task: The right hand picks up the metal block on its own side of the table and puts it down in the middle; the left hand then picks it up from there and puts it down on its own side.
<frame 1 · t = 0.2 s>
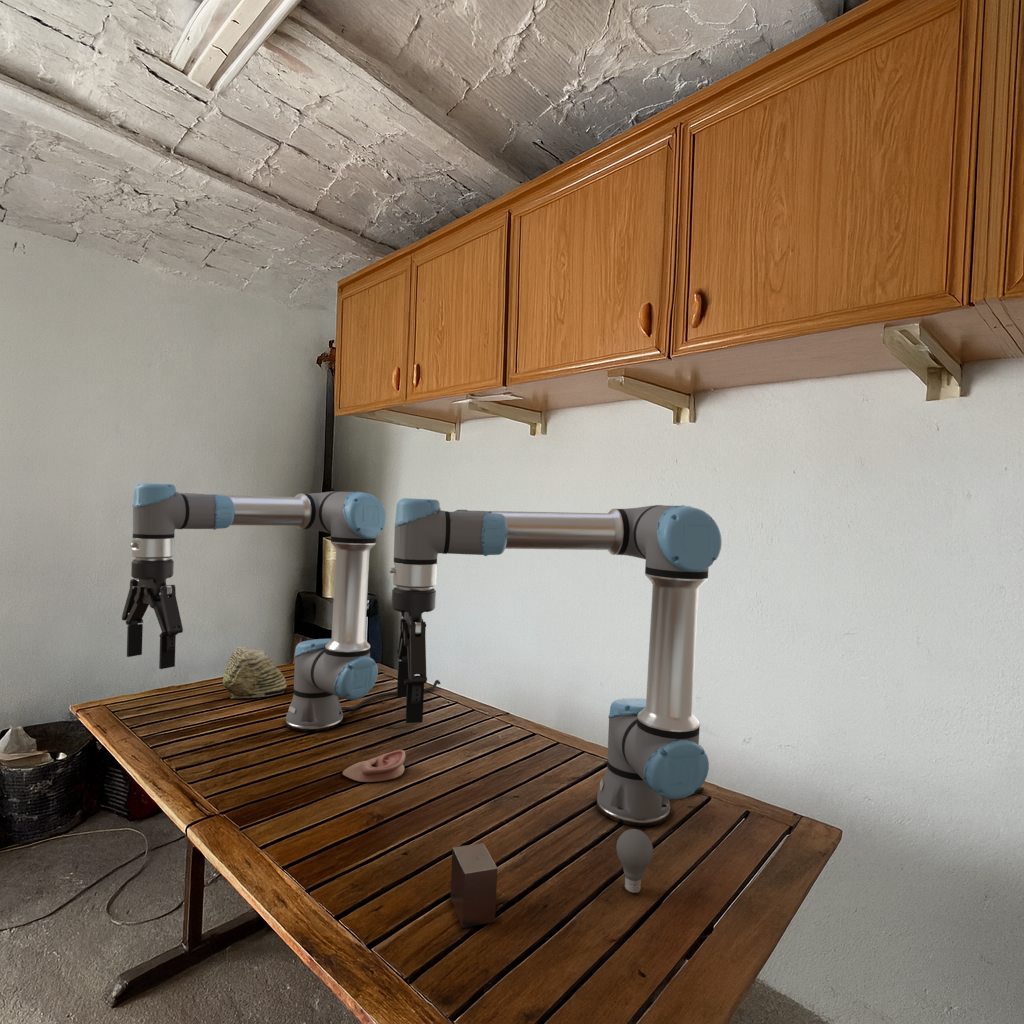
left hand: (150, 661, 130), 28 cm above the table, tool pointing down, fingers open, 13 cm apart
right hand: (408, 708, 110), 27 cm above the table, tool pointing down, fingers open, 13 cm apart
block: (472, 910, 99), on the table
anatomical model: (374, 772, 146), on the table
light bulb: (632, 891, 106), on the table
fossil: (254, 694, 198), on the table
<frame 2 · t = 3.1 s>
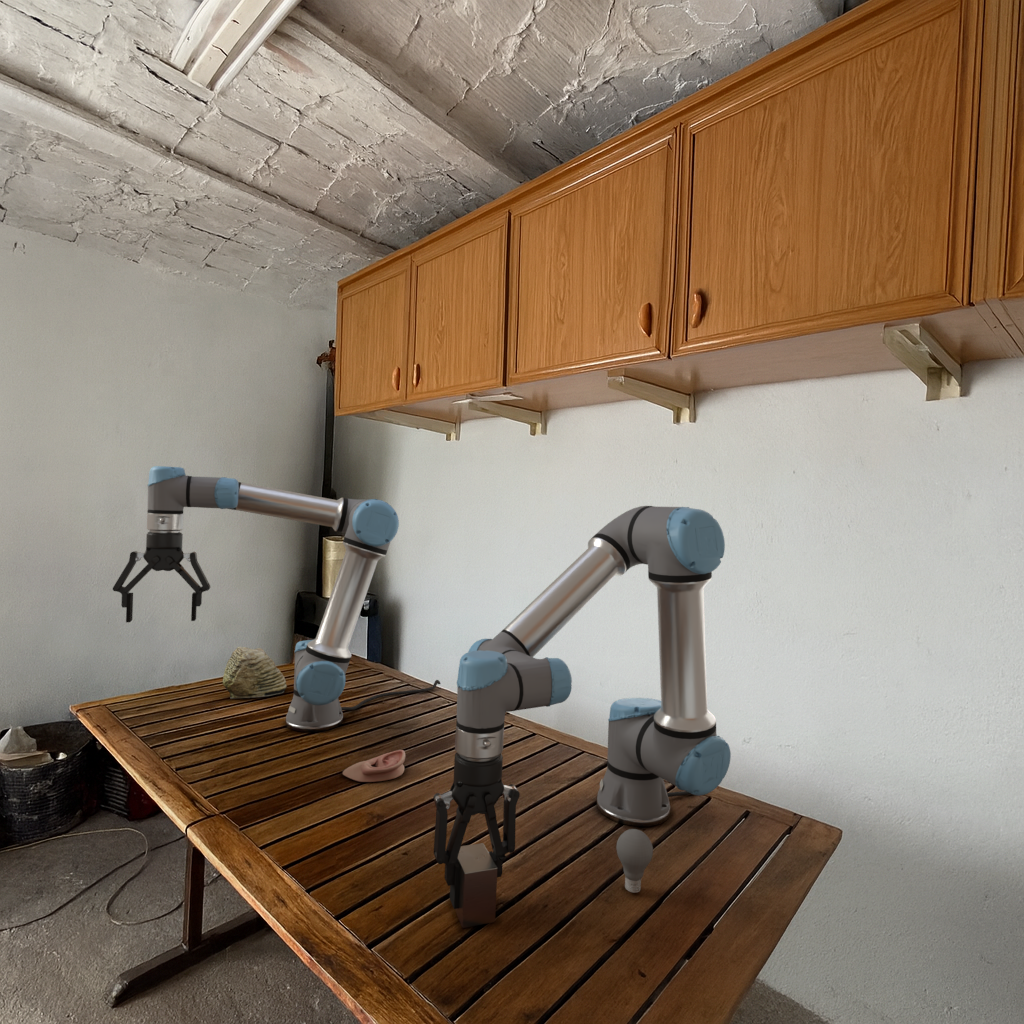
left hand: (161, 620, 151), 32 cm above the table, tool pointing down, fingers open, 13 cm apart
right hand: (472, 899, 99), 2 cm above the table, tool pointing down, fingers closed on block, 5 cm apart
block: (472, 910, 99), on the table, touching right hand
everything else where it was.
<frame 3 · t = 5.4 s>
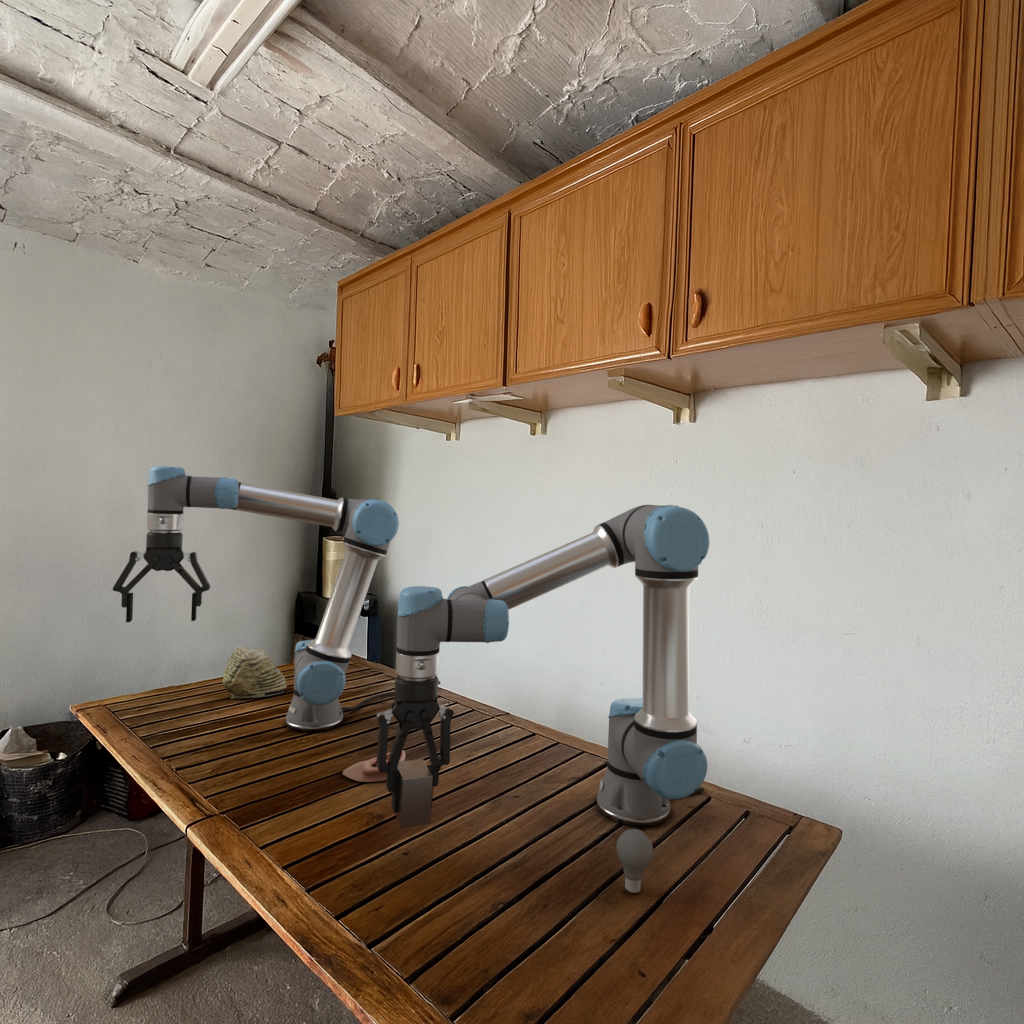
left hand: (161, 620, 151), 32 cm above the table, tool pointing down, fingers open, 13 cm apart
right hand: (411, 806, 112), 10 cm above the table, tool pointing down, fingers closed on block, 5 cm apart
block: (411, 815, 112), point 8 cm above the table, touching right hand
everything else where it was.
when the right hand's fingers open (3 cm above the table, at t = 7.7 s): block drops 1 cm, on the table.
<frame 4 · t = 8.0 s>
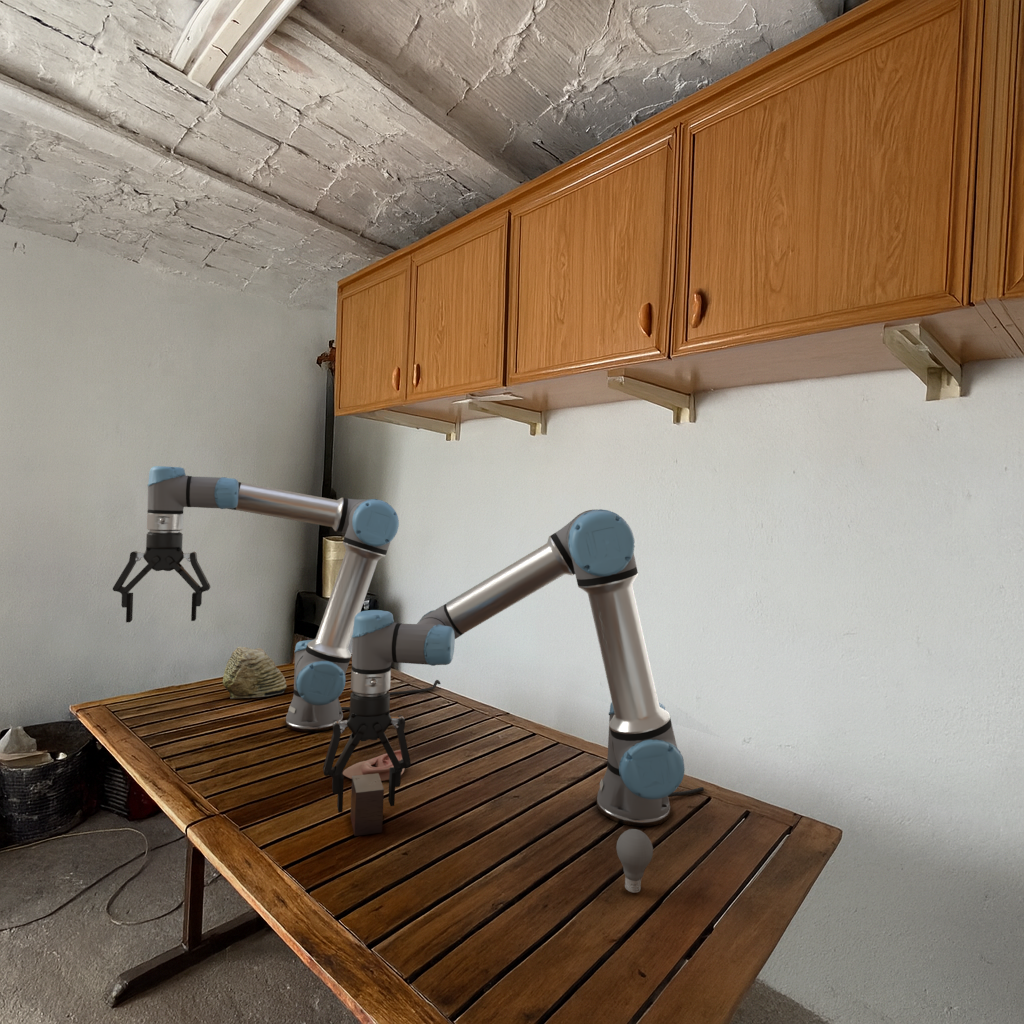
left hand: (161, 620, 151), 32 cm above the table, tool pointing down, fingers open, 13 cm apart
right hand: (365, 805, 123), 4 cm above the table, tool pointing down, fingers open, 9 cm apart
block: (366, 824, 123), on the table
everything else where it was.
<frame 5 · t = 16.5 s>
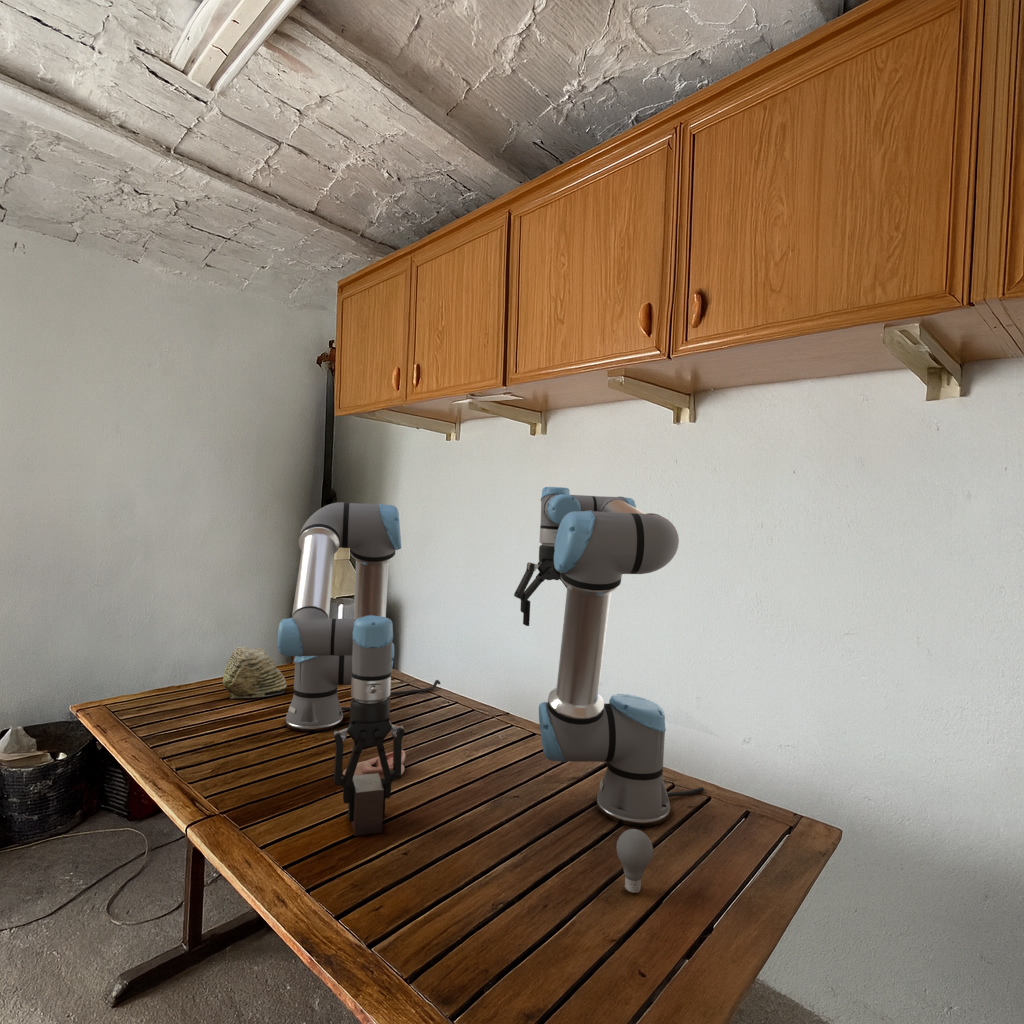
left hand: (366, 816, 123), 2 cm above the table, tool pointing down, fingers closed on block, 5 cm apart
right hand: (549, 624, 169), 32 cm above the table, tool pointing down, fingers open, 13 cm apart
block: (366, 824, 123), on the table, touching left hand
everything else where it was.
when the left hand's fingers open (3 cm above the table, at t = 20.9 s): block drops 1 cm, on the table.
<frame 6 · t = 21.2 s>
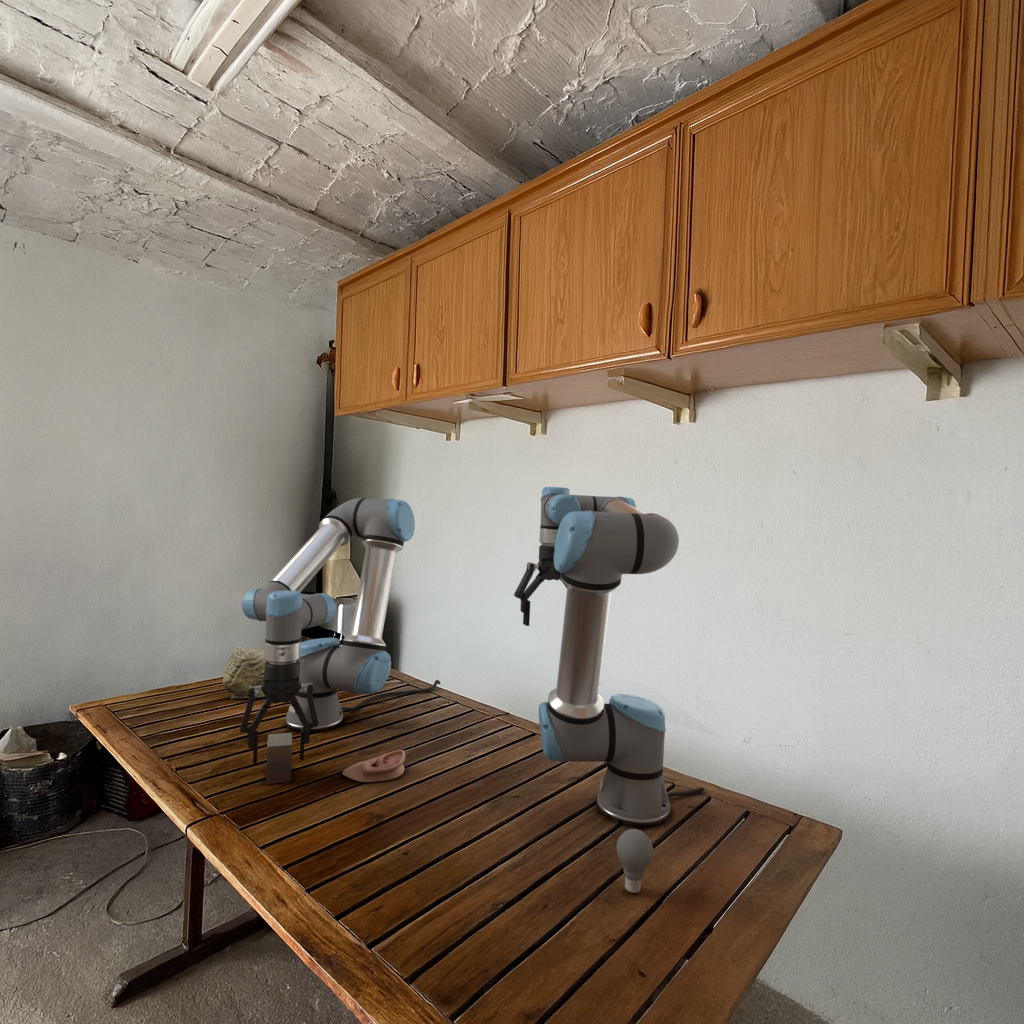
left hand: (278, 759, 142), 4 cm above the table, tool pointing down, fingers open, 9 cm apart
right hand: (549, 624, 169), 32 cm above the table, tool pointing down, fingers open, 13 cm apart
block: (278, 776, 143), on the table
everything else where it was.
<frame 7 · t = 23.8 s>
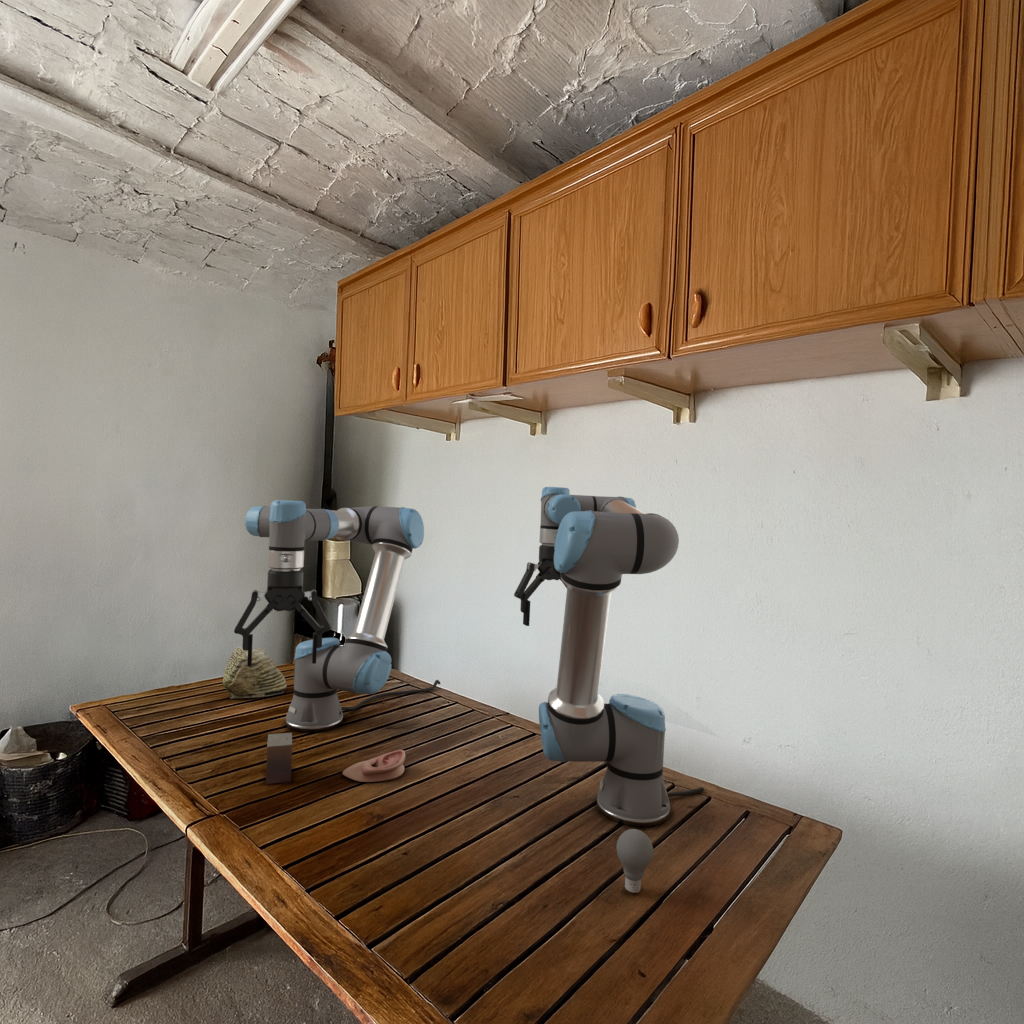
left hand: (282, 663, 142), 25 cm above the table, tool pointing down, fingers open, 13 cm apart
right hand: (549, 624, 169), 32 cm above the table, tool pointing down, fingers open, 13 cm apart
nothing on the table moved.
at the end: block inside the target area (0.1 cm from its centre), on the table; block tilted 0°; the two hands never held the block at the same time; the left hand is holding nothing; the right hand is holding nothing; block at rest at the end (0.0 cm/s) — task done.
